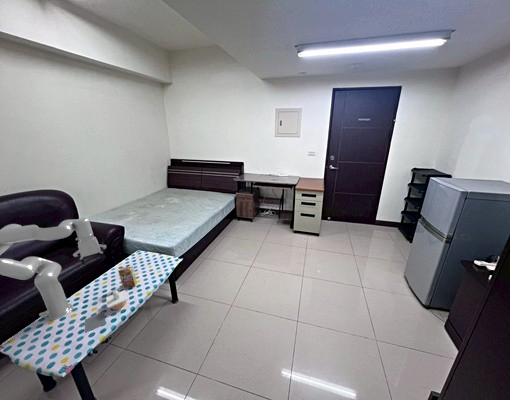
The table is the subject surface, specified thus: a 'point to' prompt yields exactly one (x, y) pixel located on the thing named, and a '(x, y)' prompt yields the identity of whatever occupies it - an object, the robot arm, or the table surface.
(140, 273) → the table surface
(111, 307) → the bowl
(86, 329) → the mat
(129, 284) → the candy box
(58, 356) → the table surface
